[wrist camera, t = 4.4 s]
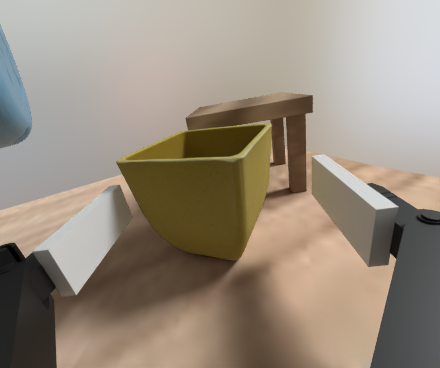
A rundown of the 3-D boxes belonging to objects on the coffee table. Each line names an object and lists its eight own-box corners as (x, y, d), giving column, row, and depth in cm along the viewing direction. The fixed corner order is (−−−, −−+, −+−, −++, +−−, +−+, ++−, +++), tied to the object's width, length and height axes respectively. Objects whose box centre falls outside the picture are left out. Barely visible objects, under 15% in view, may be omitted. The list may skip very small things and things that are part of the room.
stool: (205, 206, 25) (185, 118, 21) (212, 170, 36) (199, 107, 32) (312, 192, 24) (312, 95, 20) (285, 159, 35) (282, 92, 31)
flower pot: (279, 214, 21) (273, 120, 18) (259, 289, 14) (241, 155, 10) (200, 209, 25) (181, 130, 21) (152, 266, 18) (111, 161, 14)
